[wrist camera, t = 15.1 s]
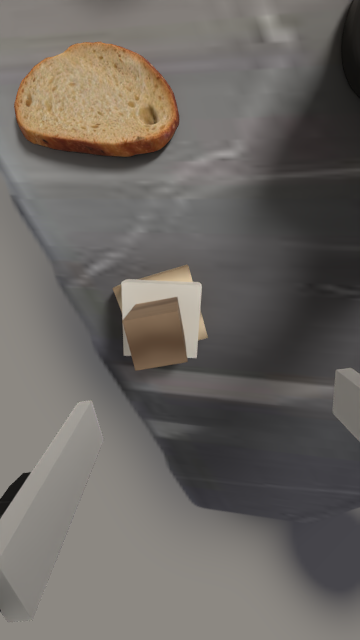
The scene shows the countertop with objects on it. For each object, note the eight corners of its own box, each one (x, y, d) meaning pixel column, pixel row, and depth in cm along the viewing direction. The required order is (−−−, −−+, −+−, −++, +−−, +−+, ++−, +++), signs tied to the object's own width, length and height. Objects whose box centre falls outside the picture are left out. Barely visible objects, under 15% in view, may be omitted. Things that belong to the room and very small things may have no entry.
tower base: (119, 284, 38) (112, 288, 34) (186, 264, 37) (188, 265, 33) (142, 347, 41) (138, 356, 37) (204, 329, 40) (207, 337, 37)
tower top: (126, 279, 34) (121, 282, 30) (199, 282, 34) (201, 285, 31) (128, 346, 37) (123, 355, 33) (194, 348, 37) (196, 357, 34)
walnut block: (135, 304, 31) (122, 321, 24) (177, 296, 31) (177, 311, 23) (144, 343, 33) (135, 370, 25) (184, 336, 33) (187, 361, 25)
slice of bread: (8, 121, 31) (-14, 104, 27) (86, -8, 27) (72, -47, 24) (111, 218, 35) (104, 214, 31) (191, 116, 31) (193, 98, 27)
